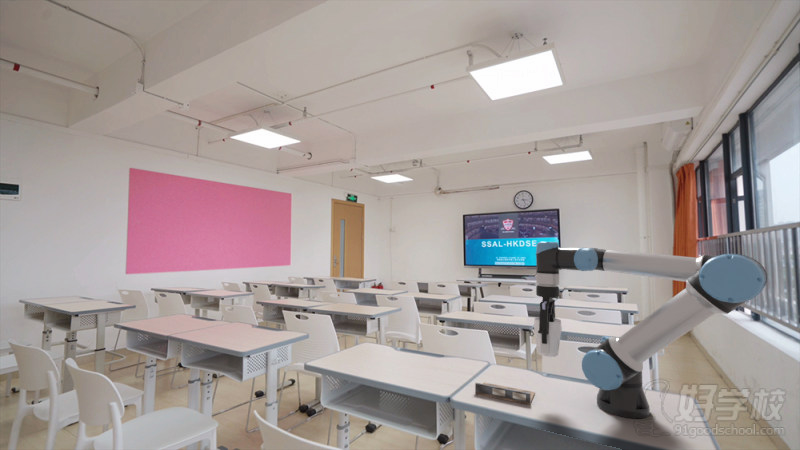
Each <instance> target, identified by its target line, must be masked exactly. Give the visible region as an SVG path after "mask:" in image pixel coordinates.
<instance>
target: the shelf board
mask: <svg viewBox="0 0 800 450" xmlns="http://www.w3.org/2000/svg"><path fill="white" fill-rule="evenodd" d="M474 388H475V389H474V390H475V392H474V393H475V395H479V396H485V397H490V398H495V399H498V400H504V401H510V402H513V403H518V404H519V403H520V404H523V405H528V406H531V404H532V402H533V399H534V397H535V395H536V391H532V390H526V389H520V388H516V387H515V388H514V387H510V386H504V385H499V384H493V383H488V382H482V383H480V382H475V385H474ZM534 394H535V395H534ZM531 401H532V402H531Z"/></svg>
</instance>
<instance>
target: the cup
mask: <svg viewBox="0 0 800 450" xmlns="http://www.w3.org/2000/svg"><path fill="white" fill-rule="evenodd" d="M553 320H554V322H549V354H546V353H541V333H538V331H539V323H540V316H537V317H534V325H533V328H534V329H533V330H534V335H535V336H534V337H535V343H536V350H537V353H538V354H539V355H540V356H544V357H550V358H552V357H553V358H554V357H557V356H559V350H560V342H561V337H562V336H561V335H562V329H563V328H562V320H561V319H559V318H556V317H555V318H553ZM544 330H545V329H544Z"/></svg>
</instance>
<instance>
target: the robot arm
mask: <svg viewBox="0 0 800 450" xmlns="http://www.w3.org/2000/svg"><path fill="white" fill-rule="evenodd" d="M535 251H536V252H535V257H536V258H535V261H536V263H535V264H536V271H535V273H536V275H534V278H536V284H537V285H536V288H535V289H536V291H535V293H536V296H537V297H541V298H542V300H541V301H540V303H539V317H540V323H539V331H538V333H541V353H546V354H549V322H554V320H553V318H556V309H555V308H556V306H555V305H556V303H555V302H556V300H555V299H554V298H558V297H560V287H559V285H560V270H566V271H580V272H589V271H590V272H591V271H601V272H611V273H619V274H626V275H634V276H639V277H640V276H641V277H648V278H654V279H655V278H657V279H663V280H670V281H678V282H685V284H686V285H685V288H684V289H682V290H681V291H680V292H678V293H677V294H675V295H674V296H673V297H672V298H670V299H669V300H667V302H665V303H663V304H662V305H661V306H659V307H658V308H657V309H655V310H654V311H653V312H652V313H650V314H649V315H648V316H646V317H645V318H644V319H642V320H641V321H639V322H638V323H637V324H635V325H634V326H633V327H632V328H630V329H629V330H628V331H626V332H625V333H623V334H621V336H618V337H617V336H607V335H604V336H602V337H601V340H600V344H598V346H597V347H595V348H593V349H591V350H588V351H587V352H586V353H585V354H584V355H583V357H582V360H581V370H582V373H583V376H584V377H585V378H586V380H587V381H588V382H589V383H590V384H591V385H593V386H594V387H595V388H597V389H598V392H597V395H596V404H597V406H598V407H599V408H600V409H602V411H604V412H607V413H609V414H613V415H616V416H620V417H623V418H628V419H629V418H630V419H645V418H648V417H649V416H650V409H651V408H650V405H649V401H648V399H647V397H646V393H645V390H644V387H643V370H644V364H643V363H644V362H646V361H648V359H650V358H652V357H653V356H655V355H656V354H657V353H659V352H661V351H662V350H663V349H665V348H666V347H668V346H669V345H671V344H672V343H674V342H676V341H677V340H678V339H679V338H681V337H683V336H684V335H686V334H687V333H688V332H690V331H691V330H693V329H695V328H696V327H698V326H699V325H701V324H702V323H703V322H705V321H707V320H708V319H710V318H711V317H713V316H714V315H715V314H723V315H724V314H725V315H728V314H729V313H731V312H732V311H734V310H736V309H737V308H739V307H740V306H742V305H743V304H745V303H746V302H749V301H751V300H753V299H755V298H756V297H758V295H760V293H762V292H763V290H764V288H765V287H766V285H767V282H768V273H767V271H766V268H765V267H764V266H763V265H762V263H761V262H759V261H758V260H757V259H754V258H753V257H750V256H747V255H744V254H738V253H723V254H719V255H708V254H702V255H701V256H699V257H692V256H683V255H682V256H681V255H673V254H672V255H669V254H660V253H659V254H658V253H647V252H638V251H637V252H636V251H627V250H615V249H605V248H604V249H603V248H596V247H590V248H587V247H560V244H559V242H557V241H540V242H539V241H538V242H537V243H536V250H535ZM544 329H545V330H544Z"/></svg>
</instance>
